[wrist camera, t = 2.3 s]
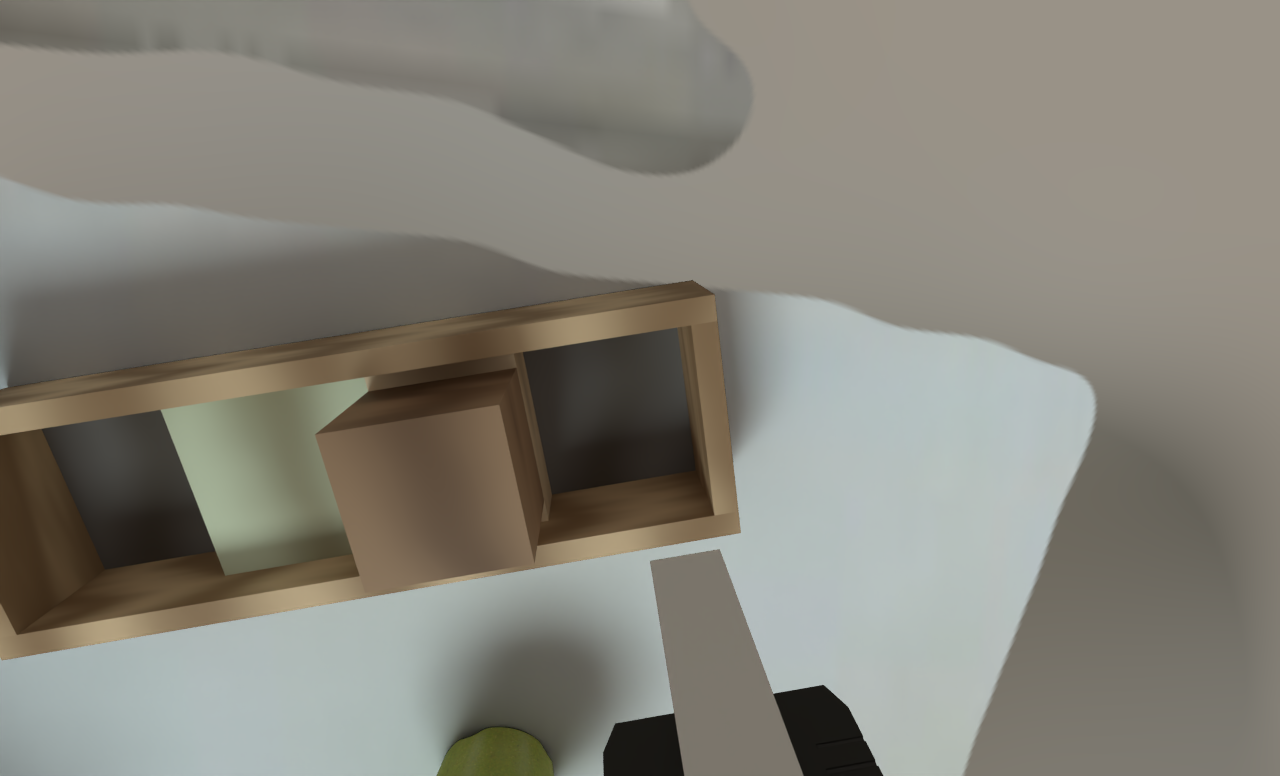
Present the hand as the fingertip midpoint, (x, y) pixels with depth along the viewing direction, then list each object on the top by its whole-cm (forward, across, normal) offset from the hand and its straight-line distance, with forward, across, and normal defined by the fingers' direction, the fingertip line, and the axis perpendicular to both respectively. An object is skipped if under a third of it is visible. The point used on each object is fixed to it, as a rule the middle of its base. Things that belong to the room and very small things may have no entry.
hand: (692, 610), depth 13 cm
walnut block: (+13, +8, 0) cm, 15 cm away
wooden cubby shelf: (+16, +12, 0) cm, 20 cm away
